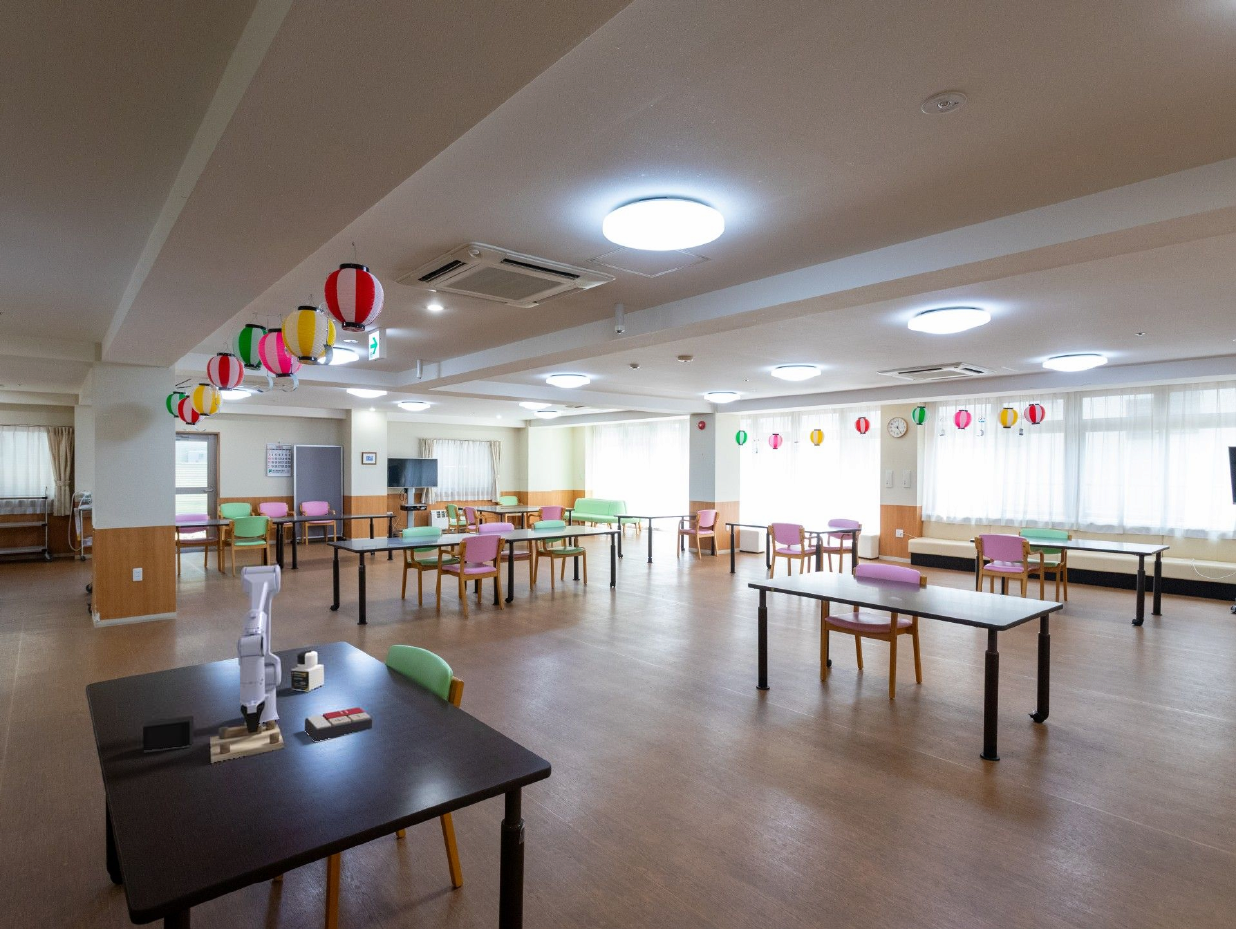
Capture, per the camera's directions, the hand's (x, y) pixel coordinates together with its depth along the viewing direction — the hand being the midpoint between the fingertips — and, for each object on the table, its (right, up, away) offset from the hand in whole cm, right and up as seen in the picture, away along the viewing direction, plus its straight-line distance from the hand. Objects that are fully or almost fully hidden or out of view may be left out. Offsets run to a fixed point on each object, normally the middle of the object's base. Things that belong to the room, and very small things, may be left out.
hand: (253, 731), depth 178 cm
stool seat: (0, -3, -2) cm, 4 cm away
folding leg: (-4, -1, +1) cm, 4 cm away
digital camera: (-21, -3, -2) cm, 21 cm away
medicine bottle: (-6, -3, +44) cm, 44 cm away
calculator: (+19, -3, +8) cm, 21 cm away
